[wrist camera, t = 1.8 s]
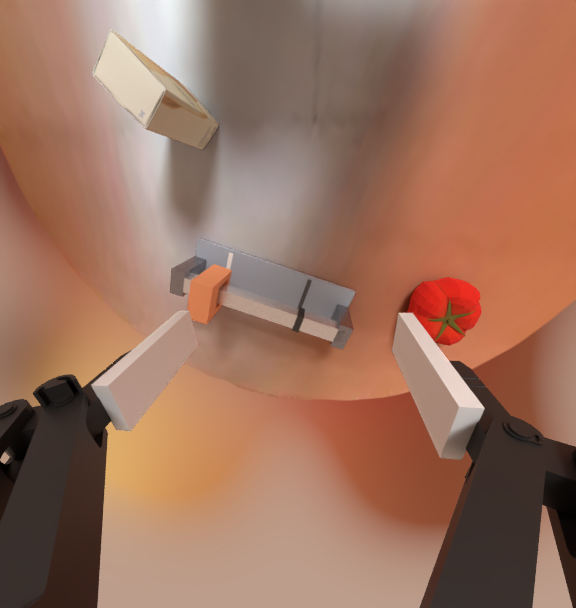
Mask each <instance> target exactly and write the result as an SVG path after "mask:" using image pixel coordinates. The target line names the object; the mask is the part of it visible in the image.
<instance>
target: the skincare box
mask: <svg viewBox="0 0 576 608" xmlns="http://www.w3.org/2000/svg"><path fill="white" fill-rule="evenodd" d="M92 73H93V76H94V78H95V79H96V80H97V81H98V82H99V83H100V84H101V85H102V86H103V87H104V88H105V89H106V90H107V91H108V92H109V93H110V94H111V95H112V96H113V97H114V98H115V99H116V100H117V101H118V102H119V103H120V104H121V105H122V106H123V107H124V108H125V109H126V110H127V111H128V112H129V113H130V114H131V115H132V116H133V117H134V118H135V119H136V120H137V121H138V122H139V123H140V124H141V125H142V126H143V128H145V129H147V130H150V131H152V132H155V133H158V134H160V135H163V136H166V137H169V138H172V139H174V140H177V141H180V142H183V143H185V144H188V145H191V146H193V147H196V148H199V149H202V150H203V149H204V147H205V146H206V144H207V143H208V141H209V140H210V138H211V137H212V136H213V134H214V132H215V131H216V129H217V127H218V126H219V124H218V122H217V121H216V120H215V119H214V117H213V116H212V115H211V114H210V113H209V111H208V110H207V109H206V108H205V107H204V106H203V105H202V103H201V102H200V101H199V100H198V99H197V98H196V97H195V96H194V95H193V94H192V93H191V92H190V91H189V90H188V89H187V88H186V87H185V86H184V85H183V84H182V83H180V82H179V81H178V80H176V79H175V78H174V77H173V76H171V75H170V74H168V73H167V72H166V71H165V70H163V69H162V68H161V67H159V66H158V65H157V64H156V63H154V62H153V61H152V60H150V59H149V58H148V57H147V56H145V55H144V54H143V53H141V52H140V51H139V50H137V49H136V48H135V47H134V46H132V45H131V44H130V43H128V42H127V41H126V40H125V39H123V38H122V37H121V36H119V35H118V34H117V33H115V32H114V31H113V30H110V31H109V34H108V36H107V38H106V41H105V43H104V45H103V48H102V50H101V52H100V55H99V57H98V59H97V62H96V64H95V67H94V69H93V72H92Z"/></svg>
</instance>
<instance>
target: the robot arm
mask: <svg viewBox="0 0 576 608" xmlns="http://www.w3.org/2000/svg"><path fill="white" fill-rule="evenodd" d="M197 346H198V342H197V338H196V334H195V330H194V327H193V323H192V319H191V315H190V312H189V311H180V310H178V311H177V312H176V313H175V314H174V315H173V316H171V317H170V318H169V319H168V320H167V321H166V322H164V323H163V324H162V325H161V326H160V327H159V328H157V329H156V330H155V331H154V332H153V333H151V334H150V335H149V336H148V337H147V338H146V339H144V340H143V341H142V342H141V343H140V344H139V345H138V346H136V347H135V348H134V349H133V350H131V351H129V352H127V353H125V354H124V355H122V356H120V357H119V358H118V359H117V360H116V361H114V362H113V364H111V365H110V366H109V367H107V368H106V370H104V371H103V372H101V373H100V374H99V375H98V376H97V377H95V378H94V379H93V380H92V381H90V382H89V383H88V384H87V385H86V386H84V387H83V388H82V387H81V386H80V384H79V382H78V381H77V379H76V377H75V376H73V375H63V376H59V377H56V378H53V379H51V380H49V381H47V382H46V383H44V384H42V385H41V386H39V387H38V388H37V389H36V390H35V391H34V392H33V395H34V396H35V397H36V399H37V400H38V401H39V403H40V404H41V406H36V407H32V406H31V405H30V404H29V402H28V401H27V400H24V399H20V400H15V401H12V402H8V403H5V404H4V405H1V406H0V458H1V456H2V454H3V453H4V452H6V453H7V454H8V455H9V456H10V458H9V459H8V461H7V462H6V463H5V464H3V463H2V462H1V461H0V608H97V602H98V586H99V569H100V553H101V535H102V519H103V503H104V502H103V501H104V485H105V470H106V453H107V452H106V451H107V436H108V433H107V430H106V428H105V427H106V426H107V425H108V424H109V423H110V422H112V423H113V425H114V427H115V429H116V430H125V431H131V430H132V429H133V428H134V427H135V425H136V424H137V423H138V421H139V420H140V419H141V418H142V416H143V415H144V414H145V412H146V411H147V410H148V409H149V407H150V406H151V405H152V403H153V402H154V401H155V400H156V398H157V397H158V396H159V395H160V393H161V392H162V391H163V390H164V388H165V387H166V385H167V384H168V383H169V382H170V380H171V379H172V378H173V377H174V375H175V374H176V373H177V372H178V370H179V369H180V368H181V366H182V365H183V364H184V363H185V361H186V360H187V359H188V358H189V356H190V355H191V354H192V352H193V351H194V350H195V349H196V347H197ZM392 352H393V354H394V357H395V359H396V361H397V363H398V365H399V368H400V370H401V372H402V374H403V377H404V379H405V381H406V383H407V385H408V388H409V390H410V392H411V394H412V397H413V399H414V401H415V403H416V405H417V407H418V410H419V412H420V414H421V417H422V419H423V421H424V423H425V425H426V428H427V430H428V432H429V434H430V437H431V439H432V441H433V443H434V445H435V448H436V450H437V452H438V454H439V456H440V458H448V459H459V460H462V458H463V455H464V454H465V452H466V450H467V452H468V453H469V455H470V457H471V459H472V460H473V462H472V464H471V466H470V468H469V470H468V472H467V474H466V476H465V478H466V480H465V482H464V485H463V488H462V491H461V493H460V496H459V499H458V502H457V505H456V508H455V510H454V513H453V516H452V519H451V521H450V524H449V527H448V530H447V533H446V535H445V539H444V541H443V544H442V547H441V549H440V552H439V555H438V558H437V561H436V564H435V566H434V569H433V572H432V575H431V577H430V580H429V583H428V586H427V588H426V592H425V595H424V597H423V600H422V603H421V605H420V608H532V605H533V594H534V584H535V573H536V563H537V554H538V543H539V533H540V522H541V512H542V505H545V506H546V507H547V510H548V514H549V518H550V522H551V526H552V529H553V533H554V537H555V541H556V545H557V549H558V552H559V556H560V560H561V563H562V568H563V571H564V575H565V579H566V583H567V587H568V590H569V594H570V598H571V602H572V606H573V608H576V447H575V446H571V445H568V444H564V443H561V442H558V441H554V440H551V439H548V438H545V437H543V435H542V434H541V433H540V432H539V431H538V430H537V429H535V428H534V427H533V426H532V425H530V424H528V423H527V422H525V421H523V420H521V419H518V418H516V417H513V416H510V414H509V413H508V412H507V411H506V410H505V409H504V407H503V406H502V405H501V404H500V403H499V402H498V400H497V399H496V398H495V397H494V396H493V394H492V393H491V392H490V391H489V390H488V389H487V388H486V387H485V385H484V384H483V383H482V381H481V380H479V378H478V377H477V375H476V374H475V373H474V372H473V371H472V370H471V369H470V368H469V367H467V366H466V365H464V364H463V363H462V362H460V361H449V360H448V359H447V358H446V357H445V355H444V354H443V353H442V351H441V350H440V349H439V347H438V346H437V345H436V343H435V342H434V341H433V339H432V338H431V337H430V335H429V334H428V333H427V331H426V330H425V329H424V327H423V326H422V325H421V323H420V322H419V321H418V319H417V318H416V317H415V316H414V314H413V313H398V319H397V325H396V331H395V336H394V342H393V348H392Z"/></svg>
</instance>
